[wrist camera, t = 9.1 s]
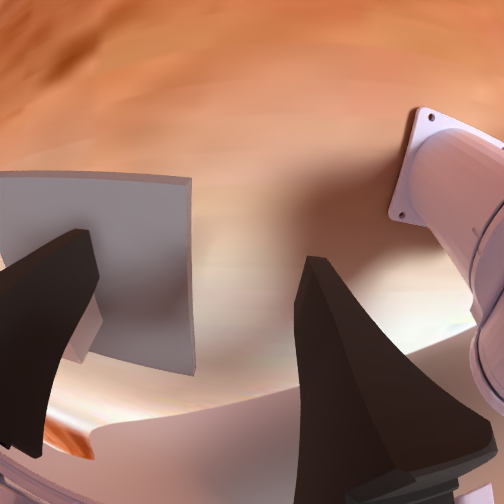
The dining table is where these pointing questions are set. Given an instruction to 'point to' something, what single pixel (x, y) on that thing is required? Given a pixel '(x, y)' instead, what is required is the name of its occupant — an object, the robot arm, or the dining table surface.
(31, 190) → the lid
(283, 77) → the dining table surface
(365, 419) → the robot arm
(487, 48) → the dining table surface
